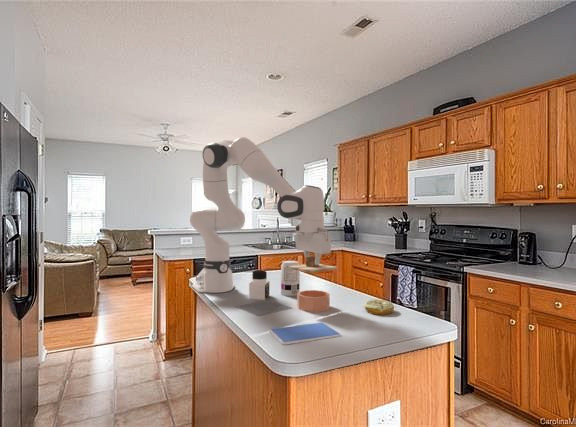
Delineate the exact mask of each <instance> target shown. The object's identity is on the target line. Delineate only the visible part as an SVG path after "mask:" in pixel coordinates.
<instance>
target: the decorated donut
mask: <svg viewBox="0 0 576 427" xmlns="http://www.w3.org/2000/svg"><path fill="white" fill-rule="evenodd" d="M363 307H364V309H365V310H366V311H367V312H368V313H369V314H371V315H377V316H381V315H383V316H384V315H385V316H386V315H390V314H392V313H393V311H394V309H395V305H394V303H393V302H391V301H388V300H382V299H377V298H376V299H369V300H368V301H365V303H364V306H363Z"/></svg>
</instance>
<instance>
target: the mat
mask: <svg viewBox="0 0 576 427" xmlns="http://www.w3.org/2000/svg"><path fill="white" fill-rule="evenodd" d="M234 308H237V309H240V310H242V311H244V312H247V313H250V314H252V315H255V316H256V317H261V316H266V315H269V314H274V313H278V312H282V311H283V312H284V311H287V310H291V309H293V307H291V306H288V305H285V304H282V303H279V302H275V301H273V300H270V299H265V300H259V301H255V302H251V303H246V304H244V303H243V304H239V305H234Z"/></svg>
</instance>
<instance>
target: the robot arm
mask: <svg viewBox="0 0 576 427" xmlns="http://www.w3.org/2000/svg"><path fill="white" fill-rule="evenodd" d="M202 159H203V163H202V164H203V165H202V184H203V195H204V197H205V198H206V200H208V201H210V202H212V203H213V204H215V206H216V207H200V208H196V209H193V211H191V214H190V216H189V222H190V225H191V227H192V228H193V230H195V231H196V232H198V234H200V236H201V237H202V240H203V242H204V249H205V250H204V251H205V260H204V261H203V268H202V269H201V270H200V272H199V273H198V274H197V275H196V277H195V281H196V283H193V284H191V288H193V289H194V290H195V291H196V292H198V293H211V294H212V293H215V294H216V293H219V294H220V293H226V292H230V291H232V290H233V288H234V289H235V288H236V284H234V279H233V271H232V269H231V259H230V244H229V242H228V241H227V240H226V239H224V238H222V237H220V236H219V235H218V233H217V232H218V231H219V232H220V231H221V232H223V231H226V232H231V231H238V230H241V229H242V228H243V227H244V225H245V223H246V222H245V221H246V217H245V214H244V212H243V210H242V209H240V208H239V207H238V206H236V204H234V202H233V201H232V199H231V196H230V193H229V185H228V184H229V182H228V168H229V167H231V166H236V165H238V166H239V168H241V170H242V171H243V173H245V175H247V176H248V177H249V178H251V179H252V180H254V181H255V182H259V183H261V184H264V185H266V186H268V187H270V188H271V189H272V190H274V191H275V193H277V195H278V196H279V197H280V198H279V200H278V201H277V204H276V205H277V206H276V207H277V212H278V214H279V215H280V216H281V217H283V218H285V219H287V220H300V223H299V224H296V225H295V227H294V231H295V232H296V233H295V236H294V237H295V247H296V250H297V251H303V256H304V258H305V259H306V257H311V253H314V257H315V260H314V265H319V264H321V263H320V261H321V258H322V255H329V254H331V252H332V244H331V243H332V242H331V236H330V234H329V233H330V232H329V231H328V230H327V228H325V217H324V211H325V197H324V191H323V189H322V188H321V187H319V186H314V185H308V184H306V185H302V187H301V188H299V189H298V190H295V188H293V186H291V184H290V183H288V181H287V180H286V179H285V178H284V177H283V175H281V174H280V173H279V171H278V170H277V169H276V167H275V166H274V164H272V162H271V161H270V159H269V158H268V157H267V156H266V154H265V153H264V152H263V151H262V150H261V148H259V146H257V144H256V143H254V142H253V141H252V140H251V139H249V138H247V137H245V136H240V137H238V138H237V139H228V140H227V139H226V140H222V141H217V142H210V143H208V144H206V145H205V146H204V147H203V149H202Z"/></svg>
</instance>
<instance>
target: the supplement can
mask: <svg viewBox="0 0 576 427" xmlns="http://www.w3.org/2000/svg"><path fill="white" fill-rule="evenodd" d="M291 265H300V264H299V261H297V260H284V261H282V263H281V266H280V270H281V271H280V277H281V278H280V294H281V295H282V296H285V297H295V296H296V297H297V293H299V292H300V276H301V275H300V272H301V271H299V270H294V269H289V268H287V266H291Z"/></svg>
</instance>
